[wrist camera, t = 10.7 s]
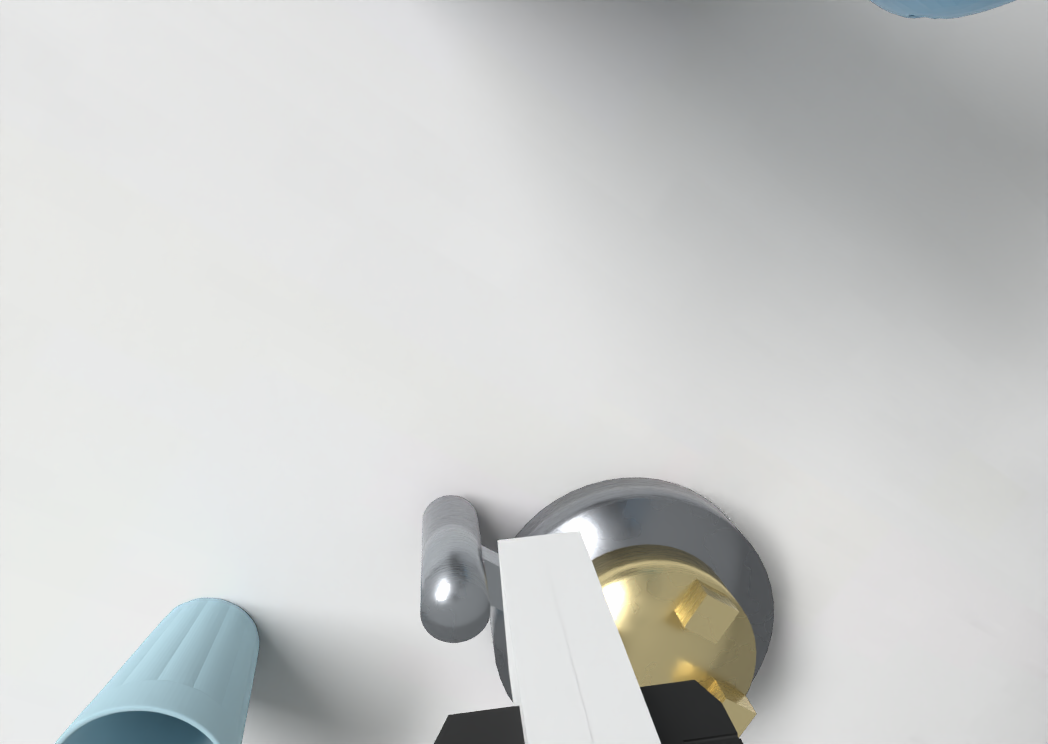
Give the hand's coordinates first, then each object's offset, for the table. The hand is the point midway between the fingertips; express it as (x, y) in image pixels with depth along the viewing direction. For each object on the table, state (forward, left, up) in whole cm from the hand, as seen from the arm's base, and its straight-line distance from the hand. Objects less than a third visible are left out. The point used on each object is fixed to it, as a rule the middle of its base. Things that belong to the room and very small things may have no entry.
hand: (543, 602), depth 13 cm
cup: (+21, -8, -27) cm, 35 cm away
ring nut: (+12, +10, -26) cm, 30 cm away
